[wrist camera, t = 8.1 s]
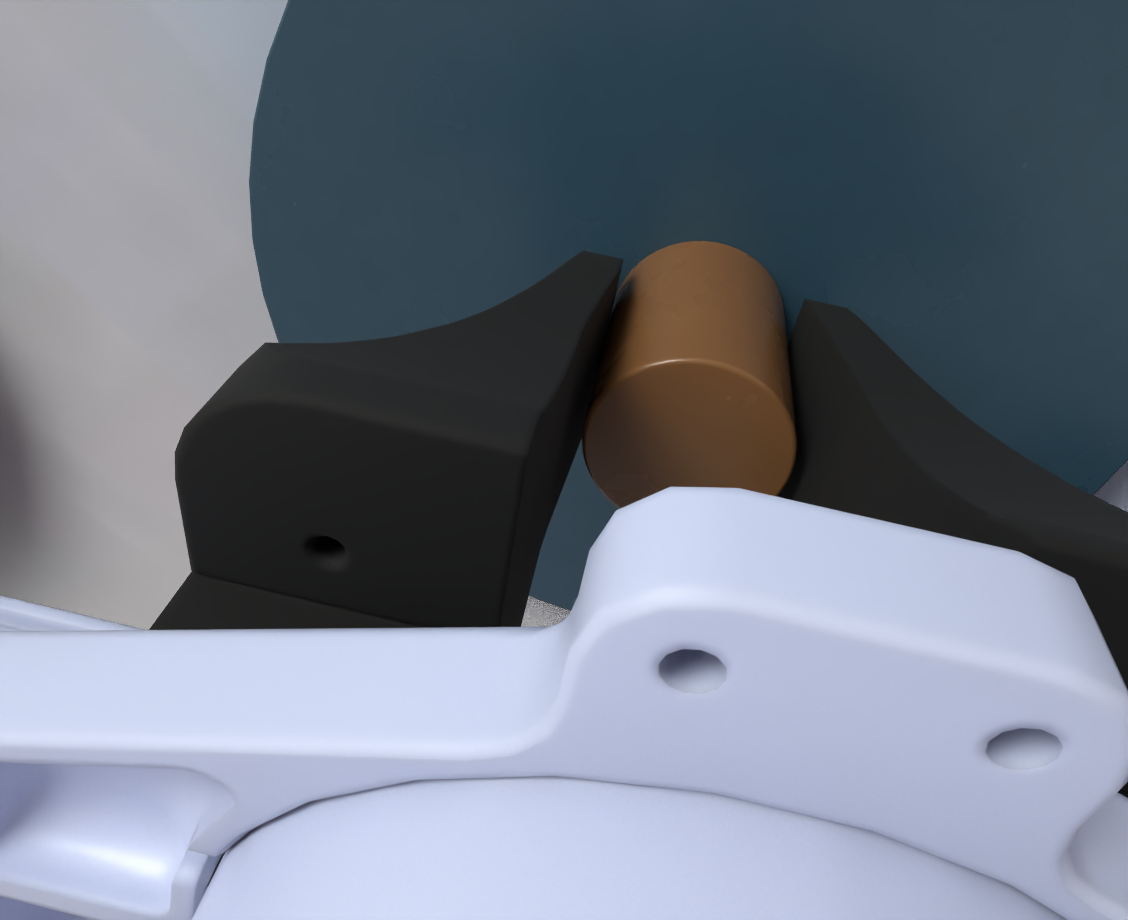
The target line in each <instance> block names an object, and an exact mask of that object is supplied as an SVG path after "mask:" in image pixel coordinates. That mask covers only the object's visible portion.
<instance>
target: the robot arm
mask: <svg viewBox="0 0 1128 920" xmlns="http://www.w3.org/2000/svg"><path fill="white" fill-rule="evenodd" d="M622 264H623V259H620V258H616V257H611V256H606V255H602V254H597V253H593V252H588V251H582V252H580V253H578V254H577V255H575V256H574V257H572V258H571V259H569V260H568V261H567V262H565V263H564V264H563V265H561V266H560V267H559V268H557V269H556V270H554V271H553V272H552V273H550V274H549V275H547V276H546V277H544V278H543V279H541V280H540V281H538V282H537V283H535V284H534V285H532V286H531V287H529V288H527V289H526V290H524V291H522V292H521V293H519V294H517V295H515V296H513V297H511V298H509V299H508V300H506V301H504V302H502V303H500V304H498V305H496V306H494V307H492V308H490V309H487V310H485V311H482V312H480V313H478V314H475V315H472V316H469V317H467V318H464V319H461V320H458V321H456V322H452V323H449V324H446V325H442V326H437V327H433V328H429V329H425V330H421V331H417V332H412V333H408V334H404V335H399V336H392V337H385V338H379V339H371V340H361V341H350V342H335V343H264V344H263V345H262V346H261V347H260V348H259V349H258V350H257V351H256V352H255V353H254V354H252V355H251V356H250V357H249V358H248V359H247V360H246V361H245V362H244V363H243V364H242V365H241V366H240V367H239V368H238V369H237V370H236V371H235V372H234V373H233V374H232V375H231V376H230V378H229V379H228V380H227V381H226V382H225V383H224V384H223V385H222V386H221V388H220V389H219V390H218V391H217V392H216V393H215V394H214V395H213V396H212V397H211V399H210V400H209V401H208V402H207V403H206V404H205V405H204V406H203V407H202V409H201V410H200V411H199V412H198V413H197V414H196V415H195V416H194V417H193V418H192V420H191V421H190V422H189V423H188V424H187V425H186V426H185V427H184V430H183V432H182V435H181V438H180V440H179V443H178V445H177V448H176V451H175V481H176V486H177V492H178V497H179V503H180V509H181V514H182V520H183V526H184V531H185V537H186V543H187V548H188V554H189V559H190V565H191V570H192V572H191V573H190V575H189V576H188V577H187V579H186V580H185V582H184V583H183V584H182V586H181V587H180V588H179V590H178V591H177V592H176V594H175V595H174V597H173V598H172V599H171V601H170V602H169V603H168V605H167V606H166V607H165V609H164V610H163V612H162V613H161V614H160V616H159V617H158V618H157V620H156V621H155V622H154V624H153V625H152V627H151V628H150V629H149V630H144V629H140V628H135V627H131V626H127V625H123V624H119V623H114V622H110V621H106V620H102V619H98V618H93V617H89V616H85V615H81V614H77V613H72V612H68V611H64V610H60V609H56V608H51V607H47V606H43V605H39V604H35V603H30V602H26V601H22V600H18V599H14V598H9V597H5V596H1V595H0V920H1128V512H1126V511H1124V510H1122V509H1119V508H1117V507H1115V506H1113V505H1111V504H1109V503H1107V502H1105V501H1103V500H1101V499H1099V498H1097V497H1095V496H1093V495H1091V494H1089V493H1087V492H1085V491H1083V490H1081V489H1079V488H1077V487H1075V486H1074V485H1072V484H1070V483H1068V482H1067V481H1065V480H1063V479H1061V478H1060V477H1058V476H1056V475H1054V474H1053V473H1051V472H1049V471H1047V470H1046V469H1044V468H1042V467H1040V466H1039V465H1037V464H1035V463H1033V462H1032V461H1030V460H1029V459H1027V458H1025V457H1024V456H1022V455H1021V454H1019V453H1017V452H1016V451H1014V450H1013V449H1011V448H1010V447H1008V446H1007V445H1005V444H1004V443H1003V442H1001V441H1000V440H998V439H997V438H995V437H994V436H993V435H991V434H990V433H988V432H987V431H985V430H984V429H983V428H981V427H980V426H978V425H977V424H976V423H974V422H973V421H972V420H970V419H969V418H968V417H966V416H965V415H964V414H963V413H961V412H960V411H959V410H958V409H956V408H955V407H954V406H953V405H952V404H950V403H949V402H948V401H947V400H946V399H945V398H943V397H942V396H941V395H940V394H939V393H938V392H936V391H935V390H934V389H933V388H932V387H931V386H929V385H928V384H927V383H926V382H925V381H924V380H923V379H922V378H921V377H920V376H919V375H917V374H916V373H915V372H914V371H913V370H912V369H911V368H910V367H909V366H908V365H907V364H906V363H905V362H904V361H903V360H902V359H901V358H900V357H899V356H898V355H897V354H896V353H895V352H894V351H893V350H892V349H891V348H890V347H889V346H888V345H887V344H886V343H885V342H884V341H883V340H882V339H881V338H880V337H879V336H878V335H877V334H876V333H875V332H874V331H873V330H872V329H871V328H870V327H868V326H867V325H866V324H865V323H864V322H863V321H862V320H861V319H860V318H859V317H858V316H857V315H855V314H854V313H853V312H852V311H850V310H849V309H847V308H845V307H840V306H836V305H831V304H826V303H822V302H817V301H813V300H808V299H804V301H803V304H802V307H801V309H800V312H799V315H798V317H797V320H796V323H795V325H794V328H793V331H792V334H791V336H790V339H789V342H788V344H787V345H788V355H789V365H790V375H791V385H792V394H793V404H794V414H795V424H796V433H797V457H796V462H795V465H794V469H793V471H792V474H791V476H790V478H789V480H788V482H787V483H786V485H785V486H784V488H783V490H782V491H781V492H780V493H779V495H778V496H777V497H776V496H771V495H767V494H763V493H758V492H754V491H749V490H745V489H741V488H717V487H669V488H666V489H664V490H662V491H659V492H657V493H655V494H653V495H650V496H648V497H646V498H643V499H641V500H639V501H637V502H634V503H632V504H630V505H627V506H625V507H623V508H621V509H618V510H616V511H615V513H614V514H613V516H612V517H611V519H610V520H609V522H608V523H607V525H606V526H605V528H604V529H603V531H602V532H601V534H600V535H599V537H598V538H597V540H596V541H595V542H594V544H593V545H592V547H591V548H590V550H589V554H588V558H587V562H586V566H585V570H584V574H583V578H582V582H581V586H580V590H579V595H578V597H577V599H576V601H575V604H574V606H573V608H572V610H571V612H570V614H569V615H568V616H567V617H566V618H565V619H564V620H563V621H562V622H561V623H558V624H555V625H553V626H550V627H521V623H522V619H523V616H524V612H525V608H526V604H527V600H528V596H529V592H530V588H531V584H532V580H533V576H534V573H535V569H536V565H537V561H538V557H539V553H540V550H541V546H542V543H543V540H544V537H545V534H546V531H547V528H548V525H549V523H550V520H551V517H552V515H553V512H554V510H555V507H556V504H557V502H558V499H559V497H560V494H561V491H562V489H563V486H564V484H565V481H566V478H567V476H568V473H569V470H570V468H571V465H572V463H573V460H574V457H575V455H576V452H577V449H578V447H579V444H580V442H581V439H582V430H583V426H584V422H585V418H586V414H587V410H588V406H589V402H590V398H591V394H592V390H593V386H594V382H595V378H596V374H597V371H598V367H599V363H600V359H601V355H602V351H603V347H604V343H605V339H606V335H607V331H608V327H609V323H610V319H611V315H612V310H613V306H614V301H615V296H616V292H617V287H618V282H619V278H620V273H621V268H622Z"/></svg>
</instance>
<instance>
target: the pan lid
mask: <svg viewBox="0 0 1128 920" xmlns="http://www.w3.org/2000/svg"><path fill="white" fill-rule="evenodd" d="M249 188H250V204H251V221H252V238H253V244H254V250H255V255H256V260H257V265H258V271H259V276H260V281H261V286H262V292H263V296H264V299H265V302H266V305H267V308H268V311H269V314H270V317H271V320H272V324H273V327H274V330H275V333H276V336H277V339H278V342H279V343H335V342H350V341H361V340H371V339H379V338H385V337H392V336H399V335H404V334H408V333H412V332H417V331H421V330H425V329H429V328H433V327H437V326H442V325H446V324H449V323H452V322H456V321H458V320H461V319H464V318H467V317H469V316H472V315H475V314H478V313H480V312H482V311H485V310H487V309H490V308H492V307H494V306H496V305H498V304H500V303H502V302H504V301H506V300H508V299H509V298H511V297H513V296H515V295H517V294H519V293H521V292H522V291H524V290H526V289H527V288H529V287H531V286H532V285H534V284H535V283H537V282H538V281H540V280H541V279H543V278H544V277H546V276H547V275H549V274H550V273H552V272H553V271H554V270H556V269H557V268H559V267H560V266H561V265H563V264H564V263H565V262H567V261H568V260H569V259H571V258H572V257H574V256H575V255H577V254H578V253H580V252H582V251H588V252H593V253H597V254H602V255H606V256H611V257H616V258H620V259H623V264H622V268H621V273H620V278H619V282H618V287H617V292H616V296H615V301H614V306H613V310H612V315H611V319H610V323H609V327H608V331H607V335H606V339H605V343H604V347H603V351H602V355H601V359H600V363H599V367H598V371H597V374H596V378H595V382H594V386H593V390H592V394H591V398H590V402H589V406H588V410H587V414H586V418H585V422H584V426H583V430H582V439H581V442H580V444H579V447H578V449H577V452H576V455H575V457H574V460H573V463H572V465H571V468H570V470H569V473H568V476H567V478H566V481H565V484H564V486H563V489H562V491H561V494H560V497H559V499H558V502H557V504H556V507H555V510H554V512H553V515H552V517H551V520H550V523H549V525H548V528H547V531H546V534H545V537H544V540H543V543H542V546H541V550H540V553H539V557H538V561H537V565H536V569H535V573H534V576H533V580H532V584H531V588H530V592H529V596H532V597H534V598H536V599H538V600H541V601H544V602H547V603H550V604H553V605H555V606H558V607H561V608H564V609H567V610H570V611H571V610H572V608H573V606H574V604H575V601H576V599H577V597H578V595H579V590H580V586H581V582H582V578H583V574H584V570H585V566H586V562H587V558H588V554H589V550H590V548H591V547H592V545H593V544H594V542H595V541H596V540H597V538H598V537H599V535H600V534H601V532H602V531H603V529H604V528H605V526H606V525H607V523H608V522H609V520H610V519H611V517H612V516H613V514H614V513H615V511H616V510H618V509H621V508H623V507H625V506H627V505H630V504H632V503H634V502H637V501H639V500H641V499H643V498H646V497H648V496H650V495H653V494H655V493H657V492H659V491H662V490H664V489H666V488H669V487H717V488H741V489H745V490H749V491H754V492H758V493H763V494H767V495H771V496H776V497H777V496H778V495H779V493H780V492H781V491H782V490H783V488H784V486H785V485H786V483H787V482H788V480H789V478H790V476H791V474H792V471H793V469H794V465H795V462H796V457H797V433H796V424H795V414H794V404H793V394H792V385H791V375H790V365H789V355H788V345H787V344H788V342H789V339H790V336H791V334H792V331H793V328H794V325H795V323H796V320H797V317H798V315H799V312H800V309H801V307H802V304H803V301H804V299H808V300H813V301H817V302H822V303H826V304H831V305H836V306H840V307H845V308H847V309H849V310H850V311H852V312H853V313H854V314H855V315H857V316H858V317H859V318H860V319H861V320H862V321H863V322H864V323H865V324H866V325H867V326H868V327H870V328H871V329H872V330H873V331H874V332H875V333H876V334H877V335H878V336H879V337H880V338H881V339H882V340H883V341H884V342H885V343H886V344H887V345H888V346H889V347H890V348H891V349H892V350H893V351H894V352H895V353H896V354H897V355H898V356H899V357H900V358H901V359H902V360H903V361H904V362H905V363H906V364H907V365H908V366H909V367H910V368H911V369H912V370H913V371H914V372H915V373H916V374H917V375H919V376H920V377H921V378H922V379H923V380H924V381H925V382H926V383H927V384H928V385H929V386H931V387H932V388H933V389H934V390H935V391H936V392H938V393H939V394H940V395H941V396H942V397H943V398H945V399H946V400H947V401H948V402H949V403H950V404H952V405H953V406H954V407H955V408H956V409H958V410H959V411H960V412H961V413H963V414H964V415H965V416H966V417H968V418H969V419H970V420H972V421H973V422H974V423H976V424H977V425H978V426H980V427H981V428H983V429H984V430H985V431H987V432H988V433H990V434H991V435H993V436H994V437H995V438H997V439H998V440H1000V441H1001V442H1003V443H1004V444H1005V445H1007V446H1008V447H1010V448H1011V449H1013V450H1014V451H1016V452H1017V453H1019V454H1021V455H1022V456H1024V457H1025V458H1027V459H1029V460H1030V461H1032V462H1033V463H1035V464H1037V465H1039V466H1040V467H1042V468H1044V469H1046V470H1047V471H1049V472H1051V473H1053V474H1054V475H1056V476H1058V477H1060V478H1061V479H1063V480H1065V481H1067V482H1068V483H1070V484H1072V485H1074V486H1075V487H1077V488H1079V489H1081V490H1083V491H1085V492H1087V493H1089V494H1091V495H1094V494H1095V493H1096V492H1097V491H1098V490H1099V489H1100V488H1101V487H1102V486H1103V485H1104V484H1105V483H1106V482H1107V481H1108V480H1109V479H1110V478H1111V477H1112V476H1113V475H1114V473H1115V472H1116V471H1117V470H1118V469H1119V468H1120V467H1121V466H1122V465H1123V464H1124V463H1125V462H1126V461H1127V460H1128V0H288V3H287V5H286V8H285V11H284V13H283V16H282V19H281V22H280V24H279V27H278V30H277V33H276V35H275V38H274V41H273V44H272V46H271V49H270V52H269V55H268V57H267V61H266V66H265V70H264V75H263V80H262V85H261V89H260V94H259V99H258V103H257V108H256V113H255V118H254V124H253V137H252V151H251V165H250V179H249Z"/></svg>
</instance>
